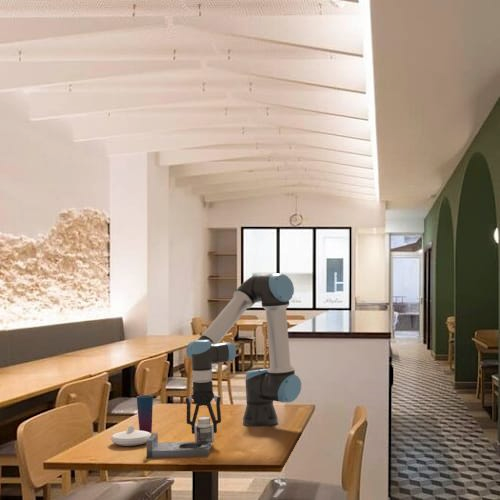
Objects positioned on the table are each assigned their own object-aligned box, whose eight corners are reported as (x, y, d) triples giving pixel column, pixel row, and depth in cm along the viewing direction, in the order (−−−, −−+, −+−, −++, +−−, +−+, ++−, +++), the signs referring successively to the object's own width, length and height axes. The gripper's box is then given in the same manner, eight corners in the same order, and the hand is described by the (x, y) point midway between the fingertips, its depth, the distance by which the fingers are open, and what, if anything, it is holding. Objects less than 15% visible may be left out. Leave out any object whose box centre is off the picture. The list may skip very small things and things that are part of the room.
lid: (116, 450, 271) (115, 431, 271) (106, 442, 285) (106, 424, 285) (156, 445, 277) (156, 427, 277) (145, 438, 291) (145, 420, 292)
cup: (150, 434, 298) (149, 397, 298) (135, 433, 299) (134, 397, 300) (156, 430, 305) (155, 394, 305) (140, 430, 306) (139, 394, 306)
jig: (211, 447, 270) (210, 431, 270) (208, 456, 257) (207, 439, 257) (152, 449, 270) (152, 433, 270) (146, 458, 257) (146, 441, 257)
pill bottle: (197, 442, 277) (196, 417, 277) (212, 442, 278) (211, 416, 278) (197, 446, 271) (196, 419, 272) (212, 445, 272) (211, 419, 272)
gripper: (227, 378, 279) (229, 438, 278) (179, 380, 279) (181, 440, 278) (226, 381, 271) (228, 443, 271) (176, 383, 272) (179, 445, 271)
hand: (204, 441), depth 275 cm, fingers closed on pill bottle, 6 cm apart
